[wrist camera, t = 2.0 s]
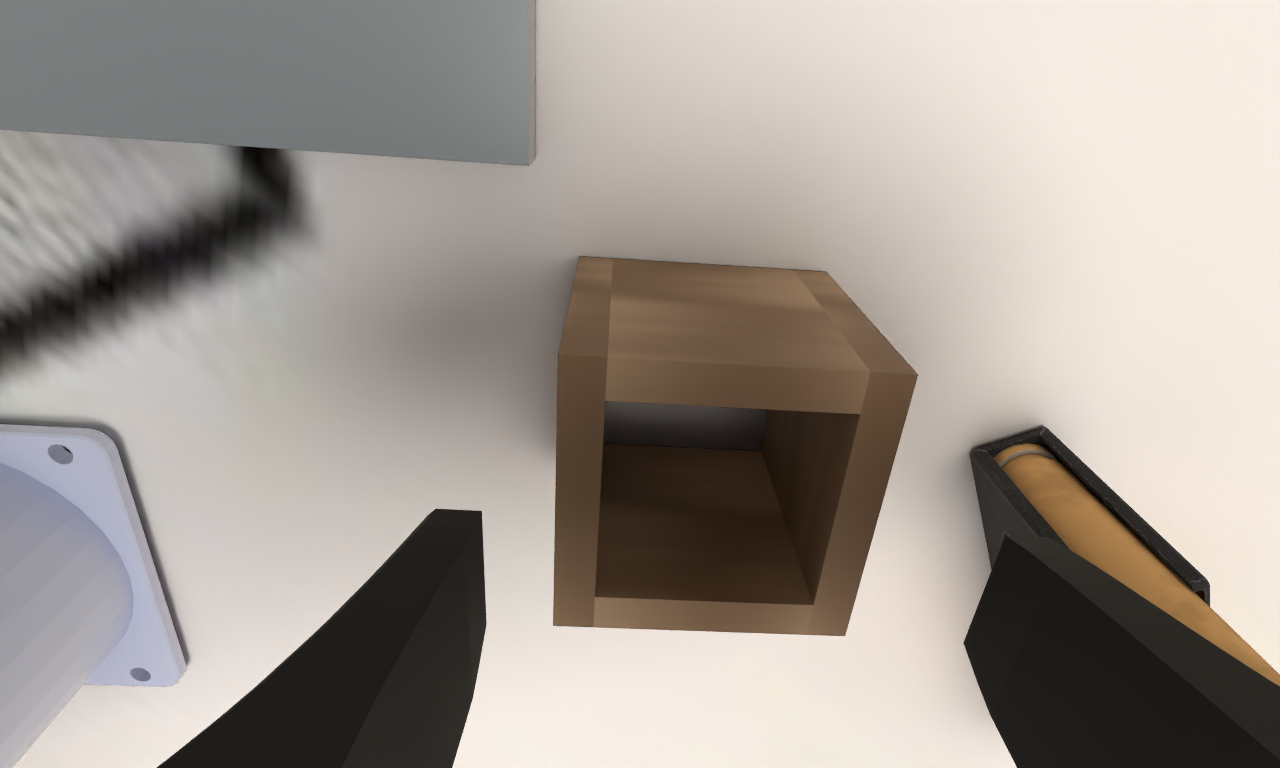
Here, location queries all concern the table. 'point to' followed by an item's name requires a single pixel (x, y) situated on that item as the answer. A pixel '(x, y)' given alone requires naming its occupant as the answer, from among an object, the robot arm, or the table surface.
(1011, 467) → the ammunition clip
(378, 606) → the robot arm
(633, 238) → the table surface
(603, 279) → the walnut frame
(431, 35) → the gray peg stand
